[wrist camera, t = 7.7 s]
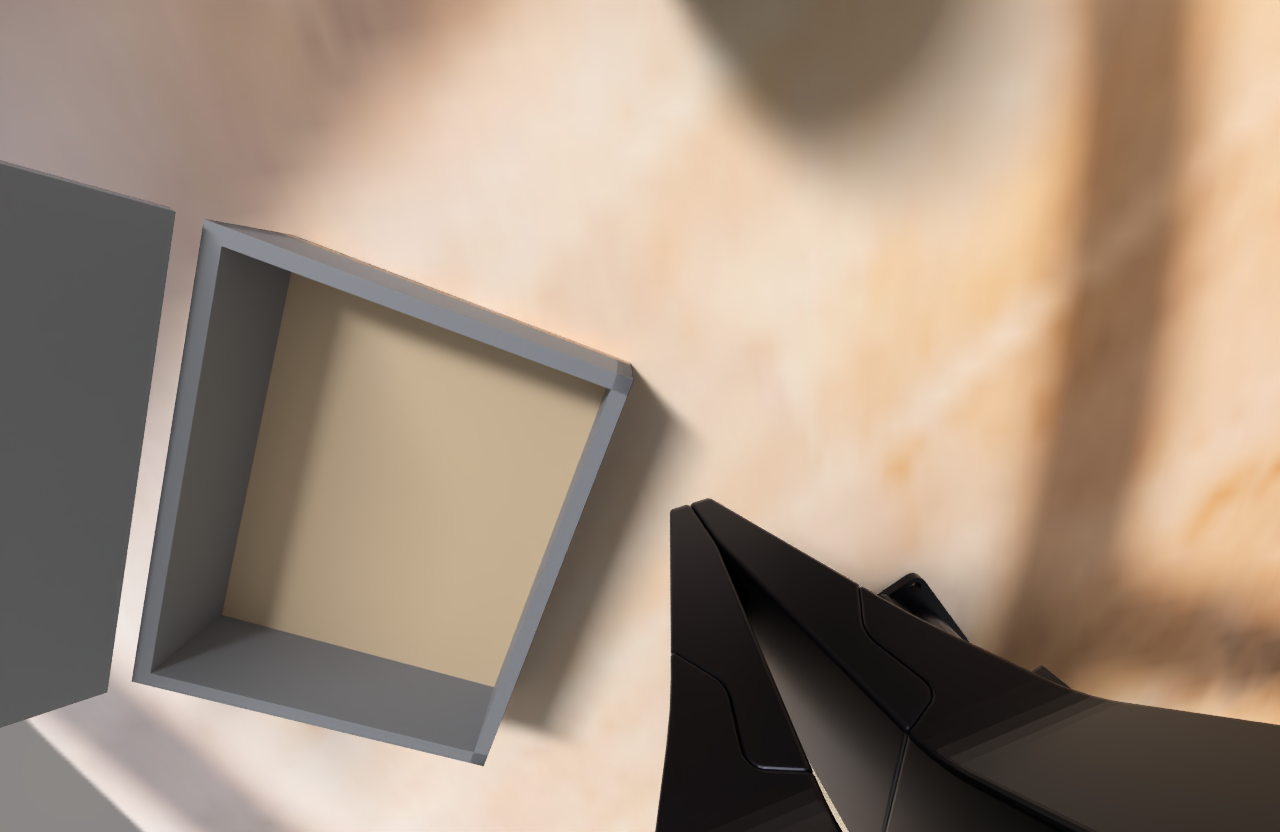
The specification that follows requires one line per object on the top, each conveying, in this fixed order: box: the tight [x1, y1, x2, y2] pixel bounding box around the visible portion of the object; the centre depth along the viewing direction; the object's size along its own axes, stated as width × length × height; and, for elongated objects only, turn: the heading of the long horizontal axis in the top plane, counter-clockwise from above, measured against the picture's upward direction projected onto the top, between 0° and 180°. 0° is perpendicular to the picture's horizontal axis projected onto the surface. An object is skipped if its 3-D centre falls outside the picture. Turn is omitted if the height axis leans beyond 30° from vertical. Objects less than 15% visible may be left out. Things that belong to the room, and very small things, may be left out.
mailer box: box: [132, 219, 634, 766], centre depth 19 cm, size 14×18×4 cm
